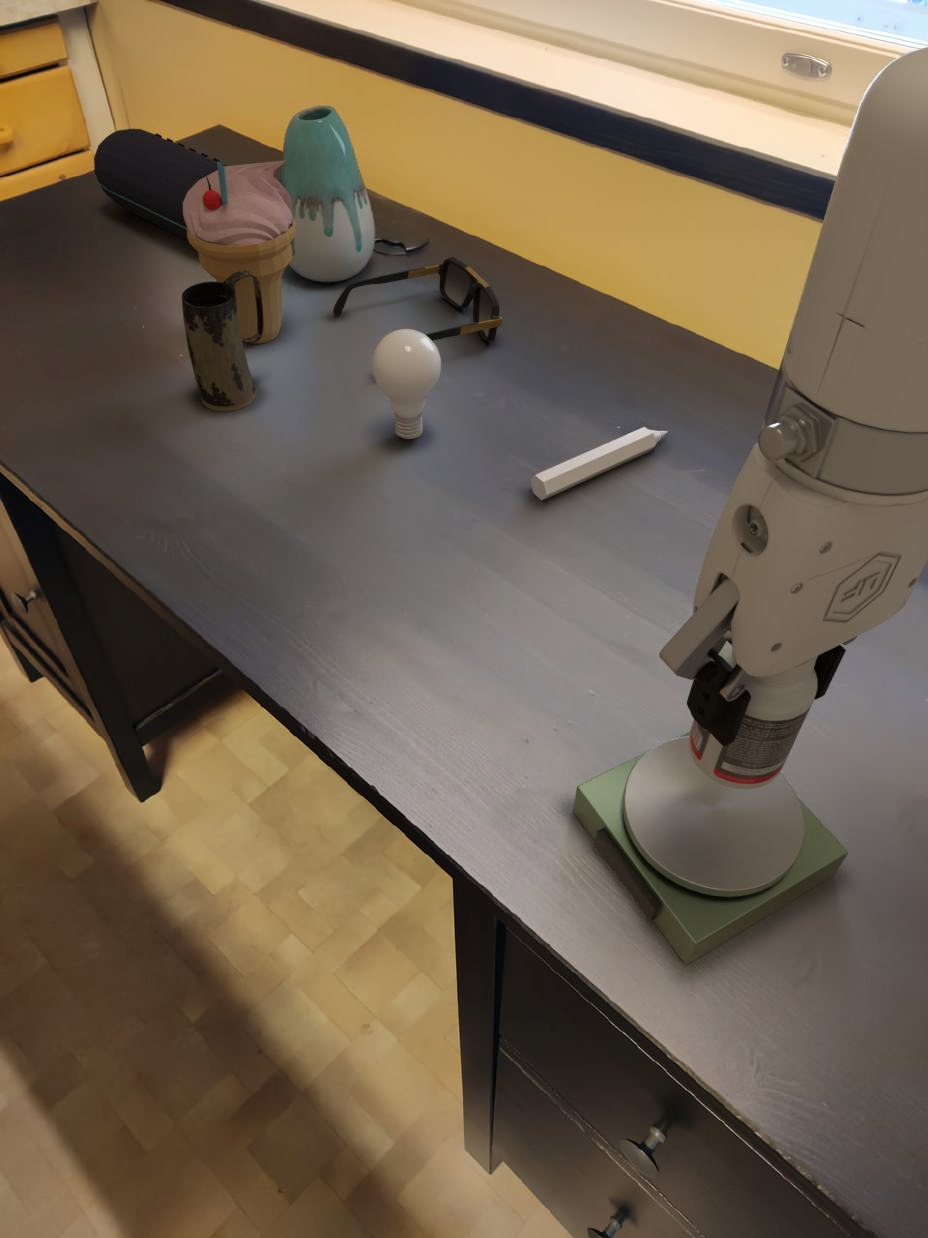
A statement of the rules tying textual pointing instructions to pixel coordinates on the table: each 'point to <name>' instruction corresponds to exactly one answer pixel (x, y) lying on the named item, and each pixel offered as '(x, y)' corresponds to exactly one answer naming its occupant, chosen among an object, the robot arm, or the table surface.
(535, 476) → the white pencil
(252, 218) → the ice cream cone
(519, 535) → the table surface
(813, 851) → the scale
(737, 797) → the pan
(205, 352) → the mug
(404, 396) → the lightbulb
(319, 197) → the vase
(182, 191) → the portable speaker
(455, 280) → the sunglasses
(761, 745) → the pill bottle
